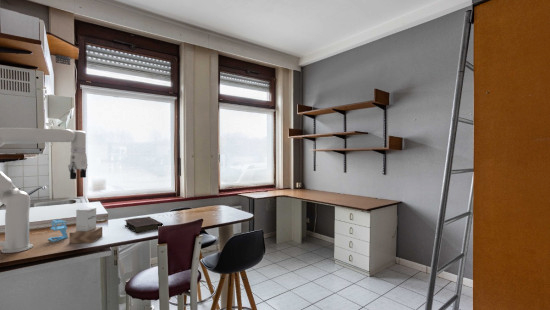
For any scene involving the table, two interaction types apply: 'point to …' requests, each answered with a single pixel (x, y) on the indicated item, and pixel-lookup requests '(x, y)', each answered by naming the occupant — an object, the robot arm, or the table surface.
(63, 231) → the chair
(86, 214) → the supplement box
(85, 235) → the walnut block
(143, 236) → the table surface
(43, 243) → the table surface
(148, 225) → the diary
